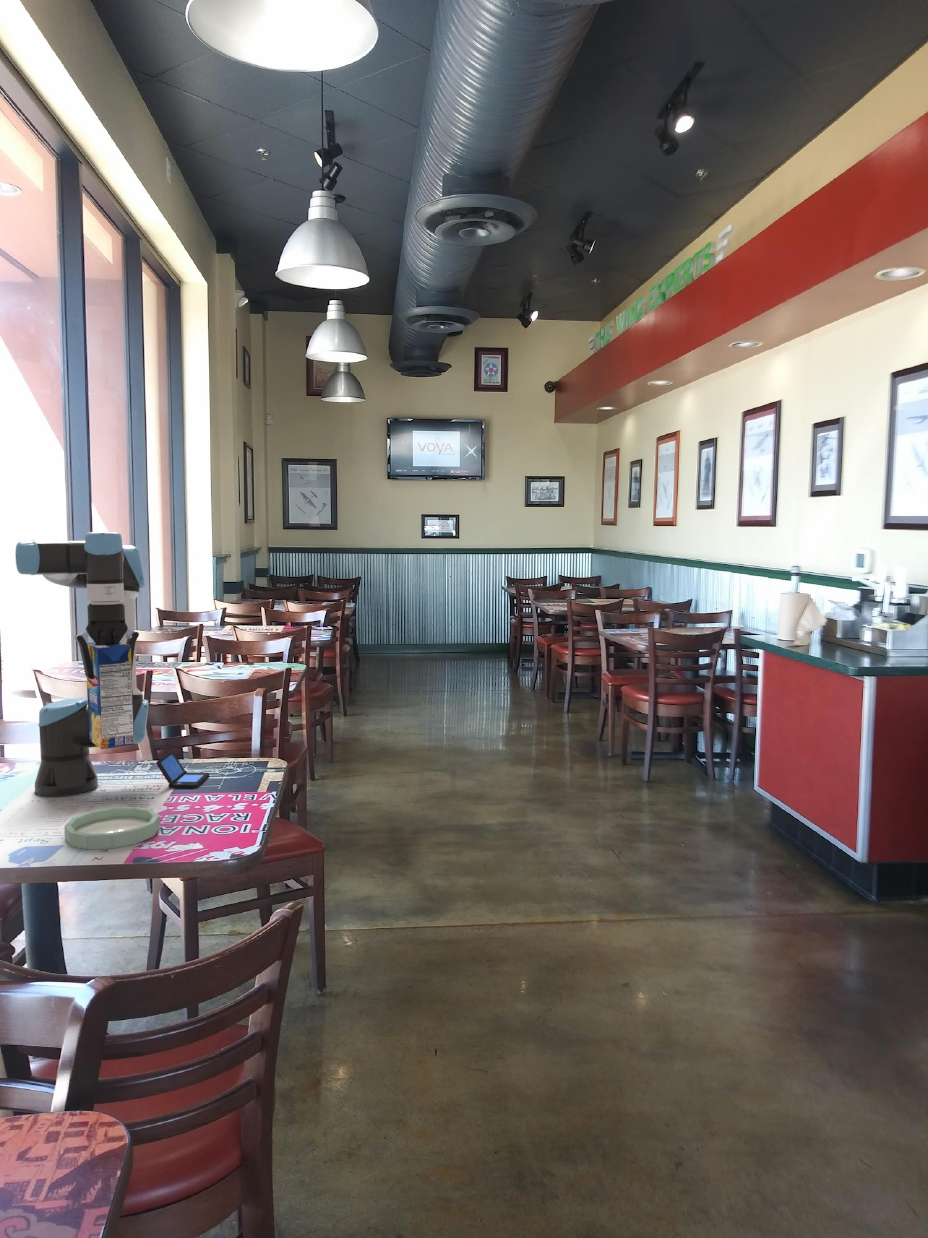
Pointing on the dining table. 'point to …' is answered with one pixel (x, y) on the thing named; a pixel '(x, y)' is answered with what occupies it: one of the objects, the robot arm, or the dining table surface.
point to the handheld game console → (179, 773)
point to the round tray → (111, 827)
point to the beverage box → (110, 696)
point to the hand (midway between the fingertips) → (110, 708)
